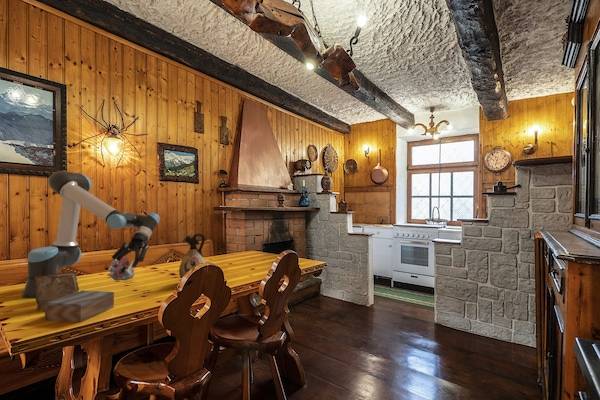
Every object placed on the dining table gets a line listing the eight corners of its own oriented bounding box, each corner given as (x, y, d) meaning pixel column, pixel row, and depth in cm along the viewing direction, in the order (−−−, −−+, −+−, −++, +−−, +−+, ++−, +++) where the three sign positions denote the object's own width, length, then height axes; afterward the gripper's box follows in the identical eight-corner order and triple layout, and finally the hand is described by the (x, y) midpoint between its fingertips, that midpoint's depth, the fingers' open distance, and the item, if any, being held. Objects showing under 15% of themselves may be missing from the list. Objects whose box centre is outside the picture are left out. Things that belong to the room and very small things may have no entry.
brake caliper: (129, 276, 140) (115, 256, 141) (111, 290, 141) (97, 269, 141) (143, 271, 152) (130, 252, 152) (126, 284, 152) (113, 265, 153)
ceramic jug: (179, 288, 162) (179, 234, 162) (178, 281, 176) (179, 232, 177) (210, 285, 169) (211, 233, 169) (208, 279, 183) (208, 231, 183)
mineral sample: (80, 303, 136) (81, 271, 136) (78, 306, 132) (78, 273, 132) (35, 308, 130) (35, 274, 130) (30, 311, 126) (31, 276, 126)
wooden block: (44, 320, 116) (45, 302, 117) (81, 305, 133) (82, 290, 133) (80, 322, 114) (80, 304, 115) (113, 307, 131) (113, 291, 131)
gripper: (162, 241, 162) (142, 277, 145) (126, 239, 164) (103, 274, 148) (157, 232, 156) (135, 268, 140) (120, 231, 159) (95, 266, 143)
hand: (119, 271), depth 144 cm, fingers closed on brake caliper, 9 cm apart
